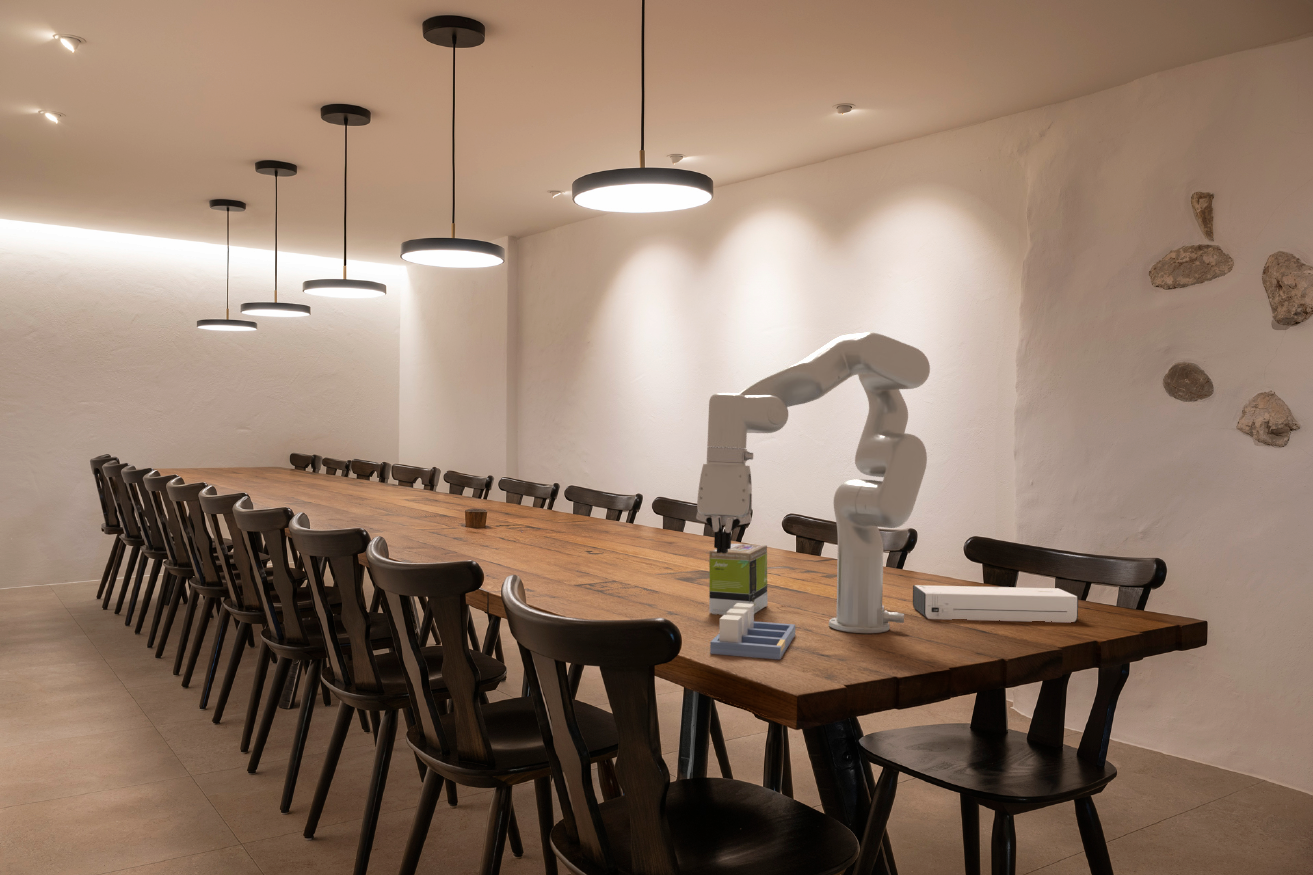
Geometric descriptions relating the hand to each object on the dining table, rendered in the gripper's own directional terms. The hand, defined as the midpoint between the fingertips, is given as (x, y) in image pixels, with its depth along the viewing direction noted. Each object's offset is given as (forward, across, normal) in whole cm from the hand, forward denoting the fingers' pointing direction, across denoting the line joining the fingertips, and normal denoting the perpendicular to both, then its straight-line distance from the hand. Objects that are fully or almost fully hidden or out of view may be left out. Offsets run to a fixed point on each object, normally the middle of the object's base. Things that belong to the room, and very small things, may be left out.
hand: (722, 552), depth 174 cm
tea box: (+18, +3, -37) cm, 41 cm away
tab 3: (+17, -3, -11) cm, 20 cm away
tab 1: (+17, -3, -4) cm, 17 cm away
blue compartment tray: (+18, -6, -4) cm, 19 cm away
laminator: (+16, -54, -50) cm, 76 cm away
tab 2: (+17, -3, +2) cm, 17 cm away
